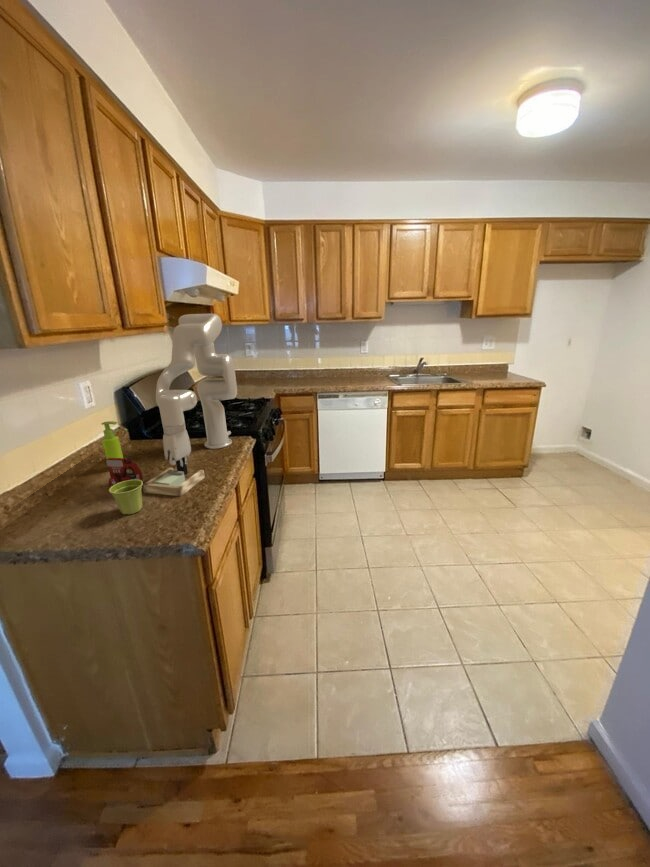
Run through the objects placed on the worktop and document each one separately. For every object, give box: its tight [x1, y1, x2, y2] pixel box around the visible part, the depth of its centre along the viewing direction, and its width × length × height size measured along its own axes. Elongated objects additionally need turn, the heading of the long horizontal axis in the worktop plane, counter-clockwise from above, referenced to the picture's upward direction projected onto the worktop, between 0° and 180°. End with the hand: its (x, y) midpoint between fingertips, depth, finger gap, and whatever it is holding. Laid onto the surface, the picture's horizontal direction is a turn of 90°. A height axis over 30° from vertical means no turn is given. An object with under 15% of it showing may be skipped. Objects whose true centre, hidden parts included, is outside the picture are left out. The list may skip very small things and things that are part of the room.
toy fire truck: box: [105, 457, 144, 487], centre depth 131 cm, size 7×12×10 cm, turn 82°
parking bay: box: [142, 467, 206, 497], centre depth 130 cm, size 15×15×3 cm
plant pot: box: [108, 480, 144, 515], centre depth 113 cm, size 9×9×9 cm
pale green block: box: [154, 469, 186, 486], centre depth 129 cm, size 8×6×4 cm
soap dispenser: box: [101, 420, 124, 460], centre depth 144 cm, size 6×7×20 cm
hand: (183, 474), depth 134 cm, fingers closed
